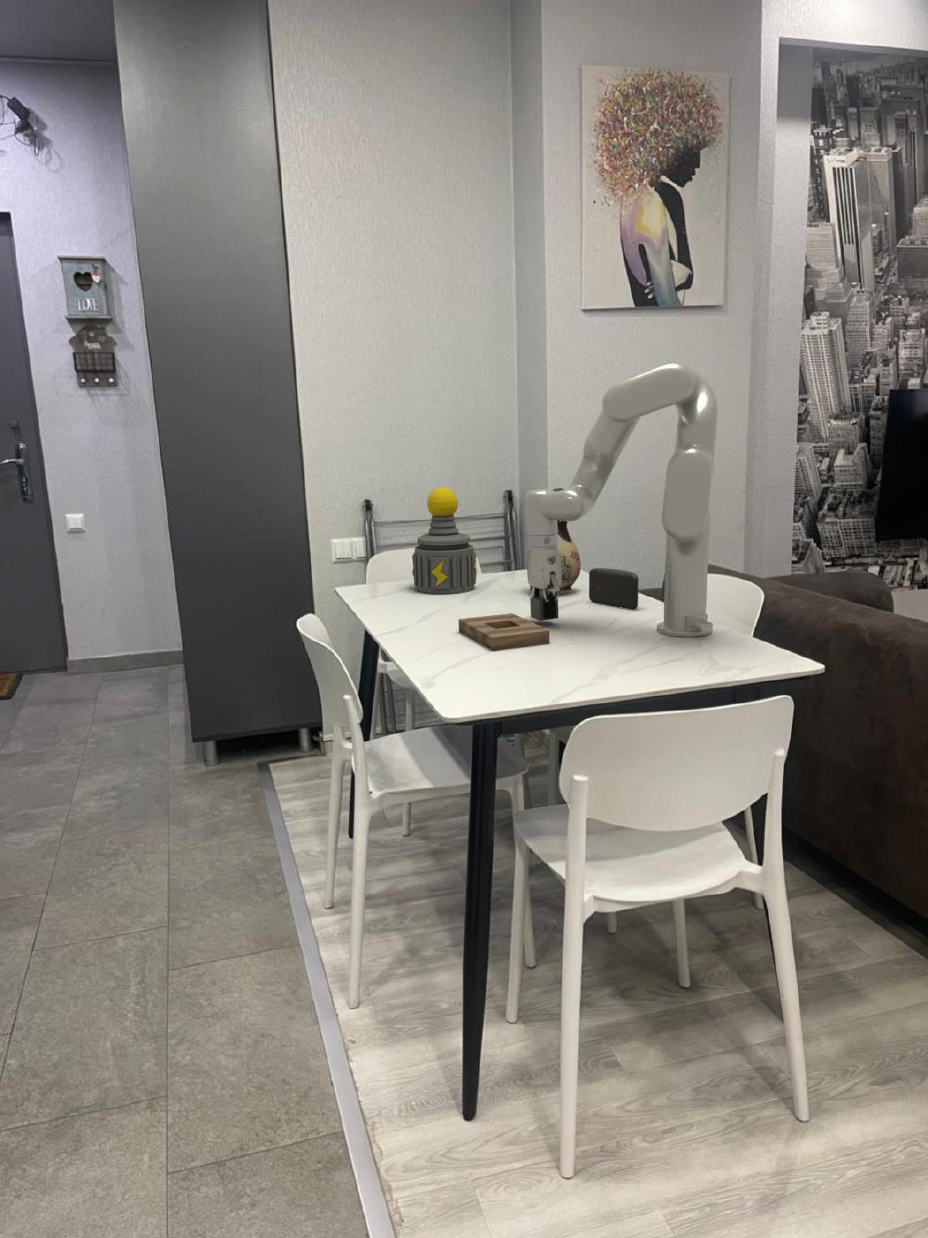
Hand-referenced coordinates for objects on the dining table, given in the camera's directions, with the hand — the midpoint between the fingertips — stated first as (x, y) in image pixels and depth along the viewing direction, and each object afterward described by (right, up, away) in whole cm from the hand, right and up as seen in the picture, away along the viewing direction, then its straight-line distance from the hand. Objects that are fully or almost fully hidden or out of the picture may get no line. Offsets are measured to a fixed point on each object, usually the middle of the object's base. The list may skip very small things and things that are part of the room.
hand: (544, 614), depth 218 cm
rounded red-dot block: (+20, +2, +19) cm, 27 cm away
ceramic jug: (+7, +6, +38) cm, 39 cm away
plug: (0, -1, 0) cm, 1 cm away
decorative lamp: (-25, +8, +48) cm, 55 cm away
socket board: (-11, -5, -11) cm, 17 cm away
